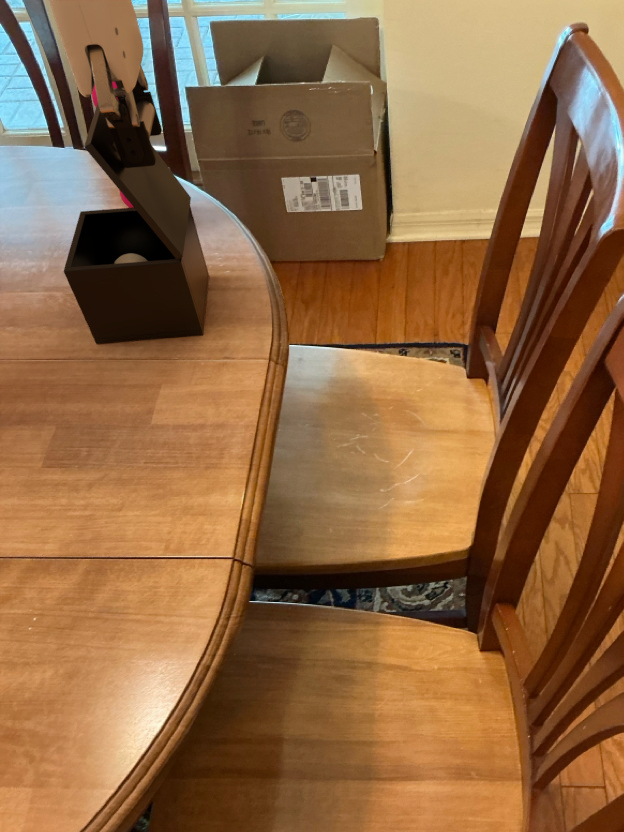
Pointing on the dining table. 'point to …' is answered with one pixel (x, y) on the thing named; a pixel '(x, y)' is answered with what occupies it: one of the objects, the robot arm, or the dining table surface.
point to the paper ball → (130, 258)
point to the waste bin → (135, 279)
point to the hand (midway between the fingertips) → (143, 148)
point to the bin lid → (144, 182)
